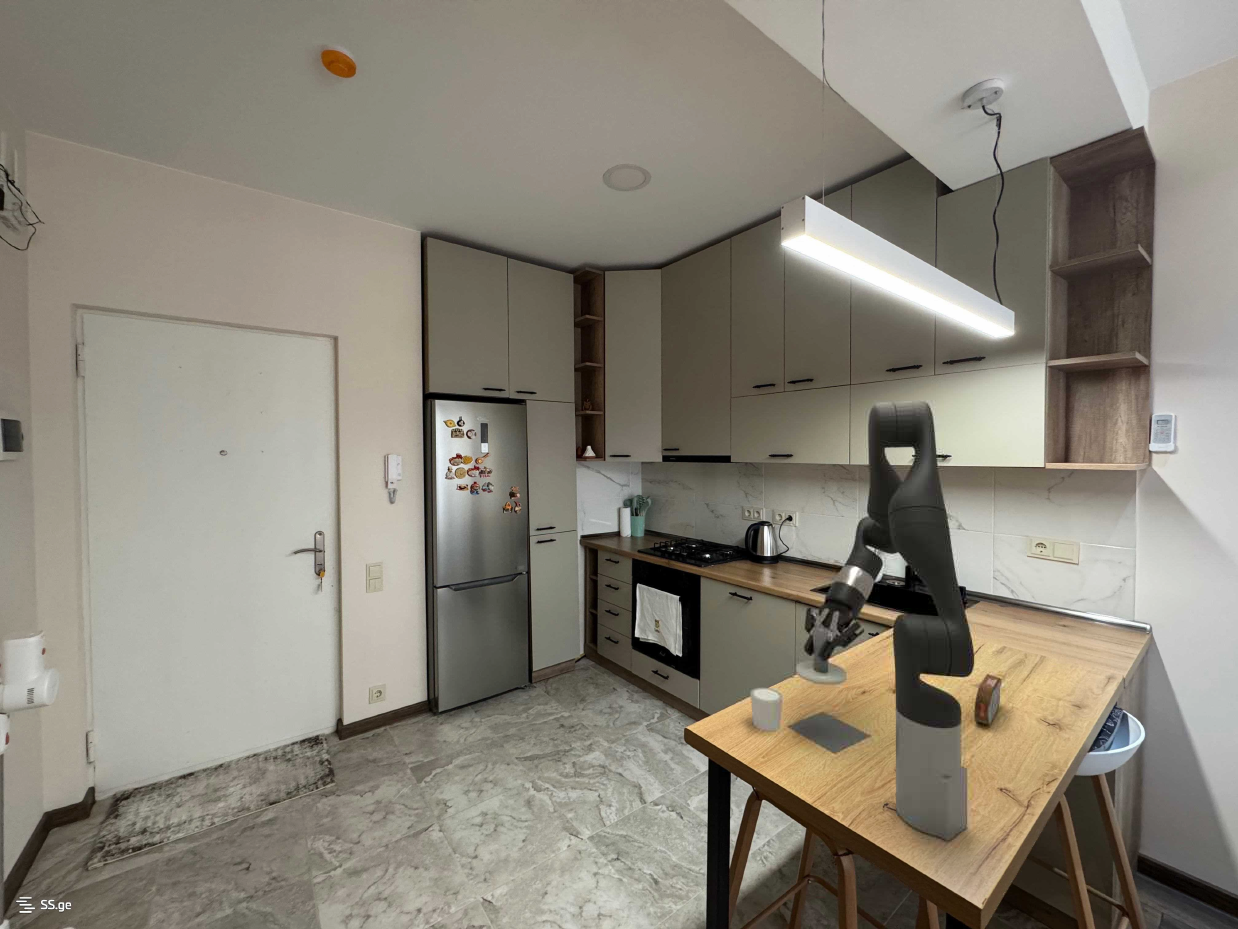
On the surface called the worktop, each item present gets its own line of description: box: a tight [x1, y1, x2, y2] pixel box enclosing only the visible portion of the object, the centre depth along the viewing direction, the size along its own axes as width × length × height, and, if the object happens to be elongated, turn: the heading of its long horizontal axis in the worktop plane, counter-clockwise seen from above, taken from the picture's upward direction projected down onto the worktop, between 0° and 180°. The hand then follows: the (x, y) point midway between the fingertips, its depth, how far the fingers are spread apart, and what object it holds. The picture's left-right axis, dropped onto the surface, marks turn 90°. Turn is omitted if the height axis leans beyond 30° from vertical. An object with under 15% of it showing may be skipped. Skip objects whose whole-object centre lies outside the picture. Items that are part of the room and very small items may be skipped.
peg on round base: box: [795, 625, 847, 686], centre depth 109 cm, size 10×10×10 cm
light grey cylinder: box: [749, 687, 783, 732], centre depth 112 cm, size 7×7×7 cm
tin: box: [973, 673, 1002, 726], centre depth 115 cm, size 15×3×8 cm, turn 134°
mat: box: [786, 710, 872, 754], centre depth 109 cm, size 12×12×1 cm
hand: (814, 655), depth 108 cm, fingers closed on peg on round base, 3 cm apart
